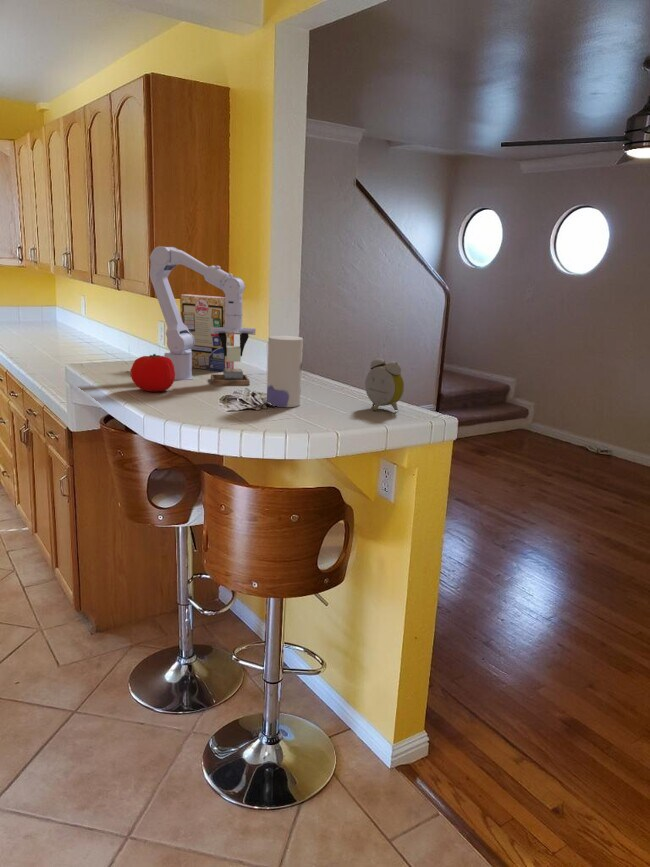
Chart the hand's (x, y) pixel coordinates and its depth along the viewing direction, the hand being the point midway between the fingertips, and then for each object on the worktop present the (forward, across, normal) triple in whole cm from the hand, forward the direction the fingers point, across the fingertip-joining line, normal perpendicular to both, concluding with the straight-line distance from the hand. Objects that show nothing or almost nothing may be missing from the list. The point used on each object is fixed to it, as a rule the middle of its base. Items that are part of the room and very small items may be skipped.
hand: (233, 355), depth 224 cm
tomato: (+10, -26, -13) cm, 31 cm away
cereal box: (+10, -7, +29) cm, 31 cm away
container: (+10, +12, -32) cm, 35 cm away
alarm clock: (+10, +40, -40) cm, 57 cm away
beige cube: (+2, 0, 0) cm, 2 cm away
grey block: (+9, 0, 0) cm, 9 cm away
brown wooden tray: (+9, -1, 0) cm, 9 cm away
